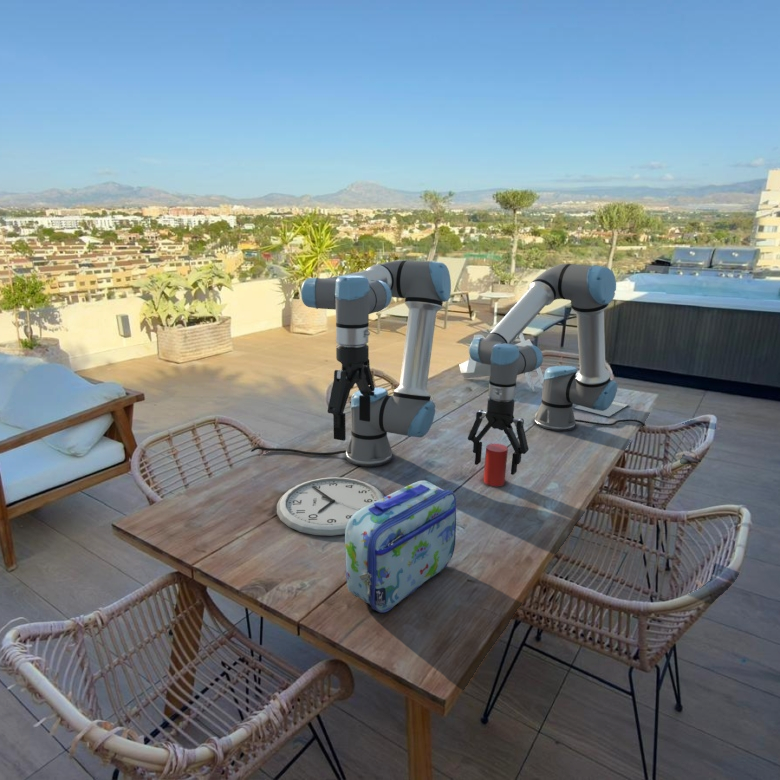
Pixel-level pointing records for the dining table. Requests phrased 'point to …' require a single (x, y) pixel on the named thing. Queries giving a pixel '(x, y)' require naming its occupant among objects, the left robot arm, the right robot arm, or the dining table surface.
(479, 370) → the white plastic object
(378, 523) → the lunch box
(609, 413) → the invitation card
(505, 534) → the dining table surface
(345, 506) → the wall clock
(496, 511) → the dining table surface
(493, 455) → the can
